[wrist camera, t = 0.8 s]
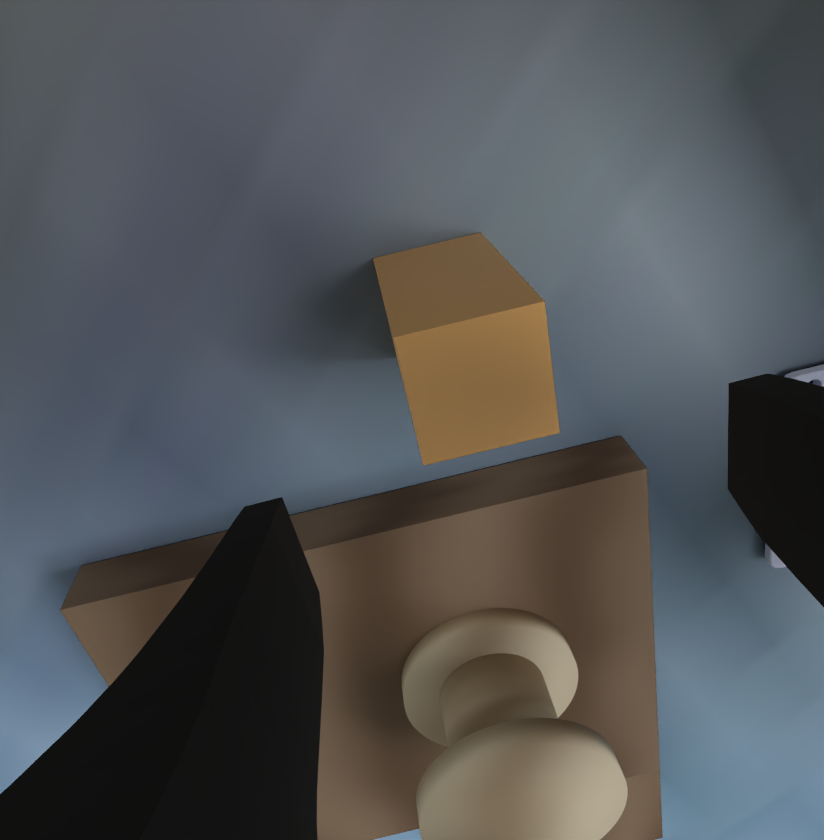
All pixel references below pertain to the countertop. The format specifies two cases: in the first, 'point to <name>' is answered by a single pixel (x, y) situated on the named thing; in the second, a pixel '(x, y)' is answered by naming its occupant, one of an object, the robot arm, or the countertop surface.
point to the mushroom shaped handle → (507, 734)
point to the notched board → (440, 615)
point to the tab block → (468, 347)
